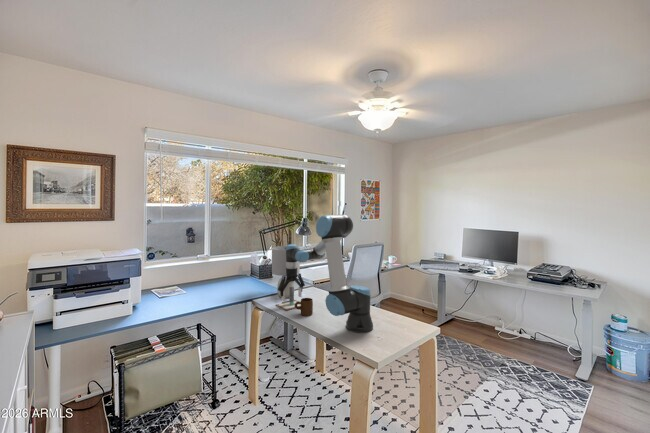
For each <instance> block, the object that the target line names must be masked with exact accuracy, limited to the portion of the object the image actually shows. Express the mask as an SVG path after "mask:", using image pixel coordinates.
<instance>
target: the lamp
mask: <svg viewBox="0 0 650 433" xmlns="http://www.w3.org/2000/svg"><path fill="white" fill-rule="evenodd" d="M286 246H287V245H280V246H273V247H272V248H271V273H272V274H273V275H275V276H281V277H280V279H279V280H278V282H277V284H276V285H277V287H276V290H277V292H276V293H277V295H278V296H279V297H280V298H281V295H280V291H279V290H278V287H279V285H280V282H281V280H282V276H286V268H287V267H286ZM297 248H298V249H300V247H298V246H297ZM300 250H301V249H300ZM300 264H301V262H299V261H297V267H296V268H297V274H298V273H300V272H301V271H300V268H301V267H300ZM286 279H287V278H286ZM286 279H285V280H286ZM284 283H285V282H284ZM289 287H294V288H295V281H292V282H289V283H288V285H287V286H286V288H285V289H284V291H285V299H289Z"/></svg>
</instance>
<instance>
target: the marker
mask: <svg viewBox="0 0 650 433" xmlns="http://www.w3.org/2000/svg"><path fill="white" fill-rule="evenodd" d="M294 300H295V286H294V287H289V298H288V301H290V306H293V305H294Z"/></svg>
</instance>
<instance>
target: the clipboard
mask: <svg viewBox="0 0 650 433" xmlns="http://www.w3.org/2000/svg"><path fill="white" fill-rule="evenodd" d="M298 301H299V300H297V299H294V305H293V306H290V301H289V300H285V301H282V302H281V303H279V304H278V303H276V304H275V306H276V307H278V308H279V309H281V310H284V311H285V312H288V311H291V310H295V309H296V308H295V303H296V302H298ZM297 306H298V307H301V304H297ZM296 310H297V309H296Z"/></svg>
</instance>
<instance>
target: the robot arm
mask: <svg viewBox="0 0 650 433" xmlns="http://www.w3.org/2000/svg"><path fill="white" fill-rule="evenodd" d="M315 224H316V225H315V232H316V234H317V236H318V237H320V238H321V241H319V242H318V243H317V244H316V245H315V246H313V247H312V248H304V249H303V248H302V249H298V248H297V247H298V245H297V244H293V243H292V244H287V245H285V246H286V267H287V268H286V276H282V275H281V278H282V280H281V282H280V285H279V287H278V290H279V291H280V295H281V297H280V298H281V300H280V301H282V302H285V301H286V298H285V291H284V289H285V288H286V286H287V285H288V283H289V282H292V281H293V282H294V283H296V284H297V285H298V290H297V291H298V298H303V296H302V293H303V288H304V287H305V286H306V284H305V281H304V280H303V278H302V273H300V272H299V273H298V274H297V268H296V267H297V261H299V262H300V263H306V262H307V261H313V260H321V259H324V258H325V256H326V259H327V260H326V261H327V267H328V275H329V276H328V277H329V283H330V288H329V289H328V295H326V297H325V301H324V302H325V307H326V309H327V310H328V312H329V313H330V314H331V315H332V316H335V317H339V316H344V315H345V314H348V317H347V320H346V324H345V325H346V326H345V327H346V329H347V330H349V331H352V332H355V333H368V332H371V331H372V330H373V329H374V323H373V320H372V316H371V296H372V295H371V289H370V288H368V287H366V286H364V285H356V284H355V285H353V284H352V285H350V286H348V285H347V278H346V273H345V266H344V258H343V252H342V244H341V241H342V239H345V238H347V237H348V236H349V235H351V233H352V232H353V230H354V222H353V220H352V218H351V217H350V216H348V215H346V214H326V215H321V216H320V217H319V218H318V219H317V221H316V223H315ZM286 278H287V279H286ZM285 279H286V280H285ZM284 282H285V283H284Z"/></svg>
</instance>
